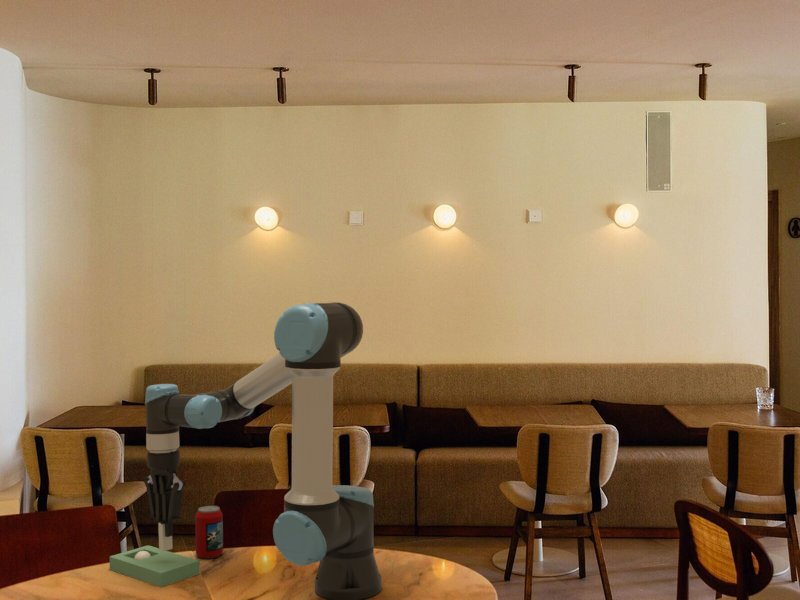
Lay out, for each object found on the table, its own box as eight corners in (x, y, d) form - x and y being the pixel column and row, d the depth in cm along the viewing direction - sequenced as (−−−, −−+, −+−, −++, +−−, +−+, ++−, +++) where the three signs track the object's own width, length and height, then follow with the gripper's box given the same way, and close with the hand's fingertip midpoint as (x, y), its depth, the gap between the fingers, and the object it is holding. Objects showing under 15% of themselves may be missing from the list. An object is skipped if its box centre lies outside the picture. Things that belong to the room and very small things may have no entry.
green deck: (199, 573, 202) (199, 560, 202) (161, 587, 194) (161, 573, 194) (148, 557, 214) (147, 545, 214) (109, 569, 206) (109, 556, 206)
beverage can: (216, 560, 212) (215, 512, 212) (191, 558, 213) (190, 511, 213) (227, 552, 219) (226, 505, 218) (202, 550, 220) (202, 504, 220)
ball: (150, 568, 208) (156, 558, 206) (136, 573, 205) (142, 563, 203) (142, 555, 210) (149, 545, 208) (128, 559, 207) (135, 549, 205)
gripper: (193, 449, 200) (196, 550, 200) (159, 444, 208) (161, 541, 208) (167, 455, 194) (170, 558, 194) (133, 449, 202) (135, 548, 202)
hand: (165, 549), depth 201 cm, fingers closed
